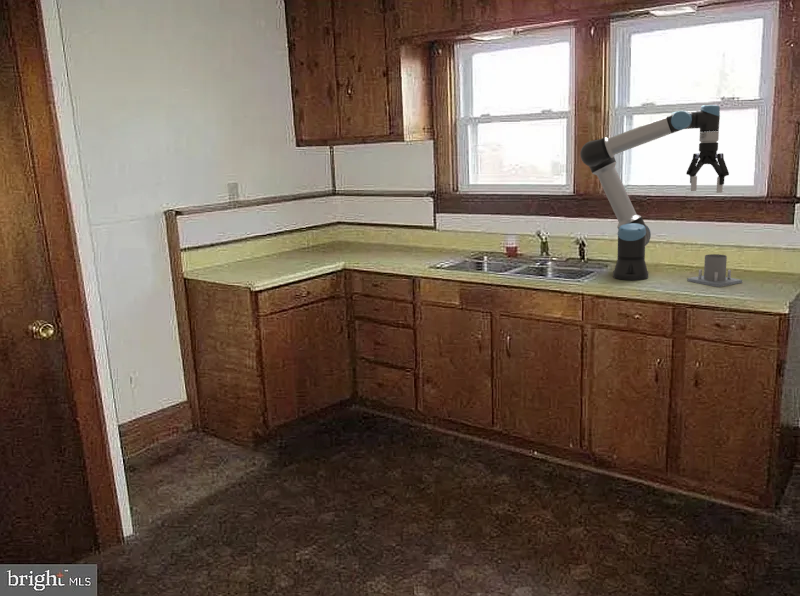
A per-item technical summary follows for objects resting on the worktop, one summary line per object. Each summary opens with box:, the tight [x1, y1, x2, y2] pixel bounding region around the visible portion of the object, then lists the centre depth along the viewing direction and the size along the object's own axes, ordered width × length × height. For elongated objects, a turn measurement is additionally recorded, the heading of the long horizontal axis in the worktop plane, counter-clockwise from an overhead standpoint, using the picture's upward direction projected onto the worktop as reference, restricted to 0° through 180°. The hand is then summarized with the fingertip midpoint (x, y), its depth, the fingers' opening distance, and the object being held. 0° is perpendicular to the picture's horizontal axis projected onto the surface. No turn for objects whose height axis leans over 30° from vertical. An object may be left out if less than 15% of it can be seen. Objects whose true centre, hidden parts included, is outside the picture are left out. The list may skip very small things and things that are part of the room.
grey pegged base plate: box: [686, 269, 743, 288], centre depth 300 cm, size 16×14×5 cm
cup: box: [703, 253, 728, 281], centre depth 300 cm, size 8×8×10 cm
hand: (706, 191), depth 309 cm, fingers open, 13 cm apart
